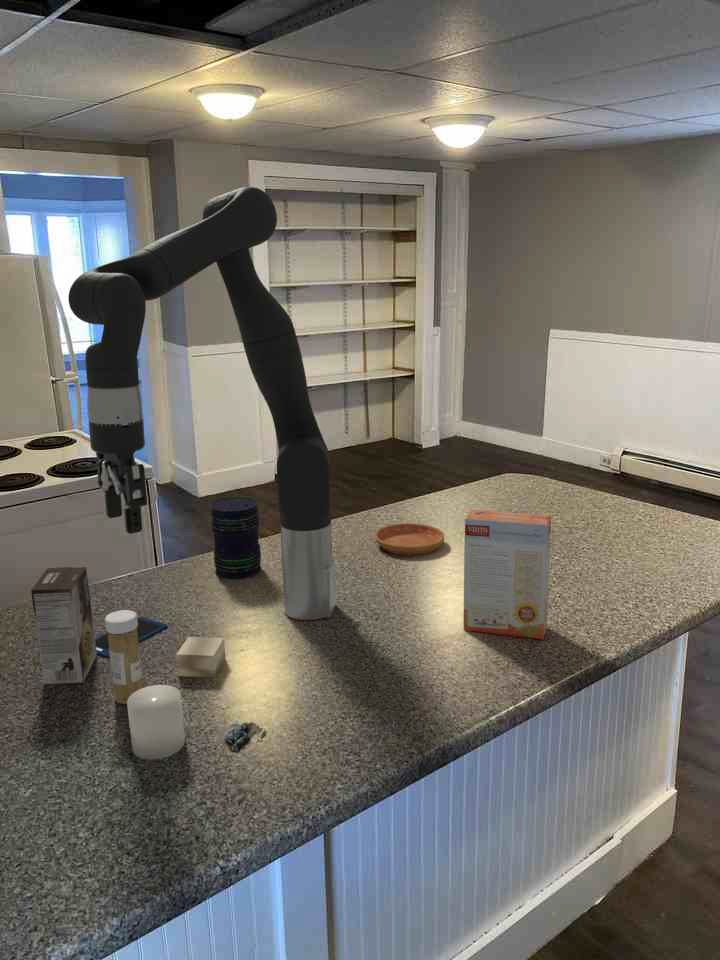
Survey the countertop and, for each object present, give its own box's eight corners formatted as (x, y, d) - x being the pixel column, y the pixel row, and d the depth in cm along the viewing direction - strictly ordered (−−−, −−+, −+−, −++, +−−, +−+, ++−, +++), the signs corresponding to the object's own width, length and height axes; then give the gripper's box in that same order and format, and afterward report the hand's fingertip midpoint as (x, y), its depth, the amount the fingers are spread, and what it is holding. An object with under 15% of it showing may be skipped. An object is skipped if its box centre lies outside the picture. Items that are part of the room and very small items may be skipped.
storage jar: (205, 576, 164) (200, 508, 160) (230, 560, 173) (225, 495, 169) (247, 582, 160) (243, 513, 157) (270, 565, 169) (266, 499, 165)
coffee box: (58, 657, 131) (47, 567, 127) (98, 655, 131) (87, 565, 127) (42, 685, 122) (28, 589, 118) (84, 683, 123) (72, 587, 118)
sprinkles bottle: (149, 699, 118) (141, 616, 114) (119, 708, 115) (109, 625, 112) (139, 686, 121) (131, 606, 118) (109, 695, 119) (100, 613, 115)
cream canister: (192, 731, 109) (188, 686, 108) (174, 761, 103) (169, 714, 101) (144, 727, 110) (139, 683, 109) (123, 757, 104) (118, 711, 102)
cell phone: (79, 650, 134) (79, 646, 134) (141, 619, 145) (141, 615, 145) (108, 660, 130) (108, 656, 130) (170, 628, 142) (169, 624, 141)
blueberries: (268, 726, 111) (268, 714, 111) (263, 761, 103) (263, 748, 103) (220, 728, 111) (220, 716, 110) (212, 762, 103) (211, 750, 103)
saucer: (456, 541, 182) (456, 529, 182) (423, 563, 170) (423, 550, 169) (396, 530, 191) (396, 519, 190) (361, 550, 178) (361, 538, 177)
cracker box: (547, 626, 139) (552, 514, 133) (543, 641, 133) (549, 524, 128) (469, 616, 143) (471, 507, 138) (462, 630, 138) (464, 517, 132)
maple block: (225, 660, 129) (223, 638, 128) (214, 678, 124) (213, 655, 123) (190, 658, 130) (188, 636, 129) (178, 677, 124) (176, 654, 123)
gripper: (74, 411, 116) (84, 516, 120) (105, 428, 104) (115, 542, 109) (124, 407, 120) (132, 508, 124) (159, 422, 109) (166, 532, 113)
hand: (124, 524), depth 116 cm, fingers open, 8 cm apart
